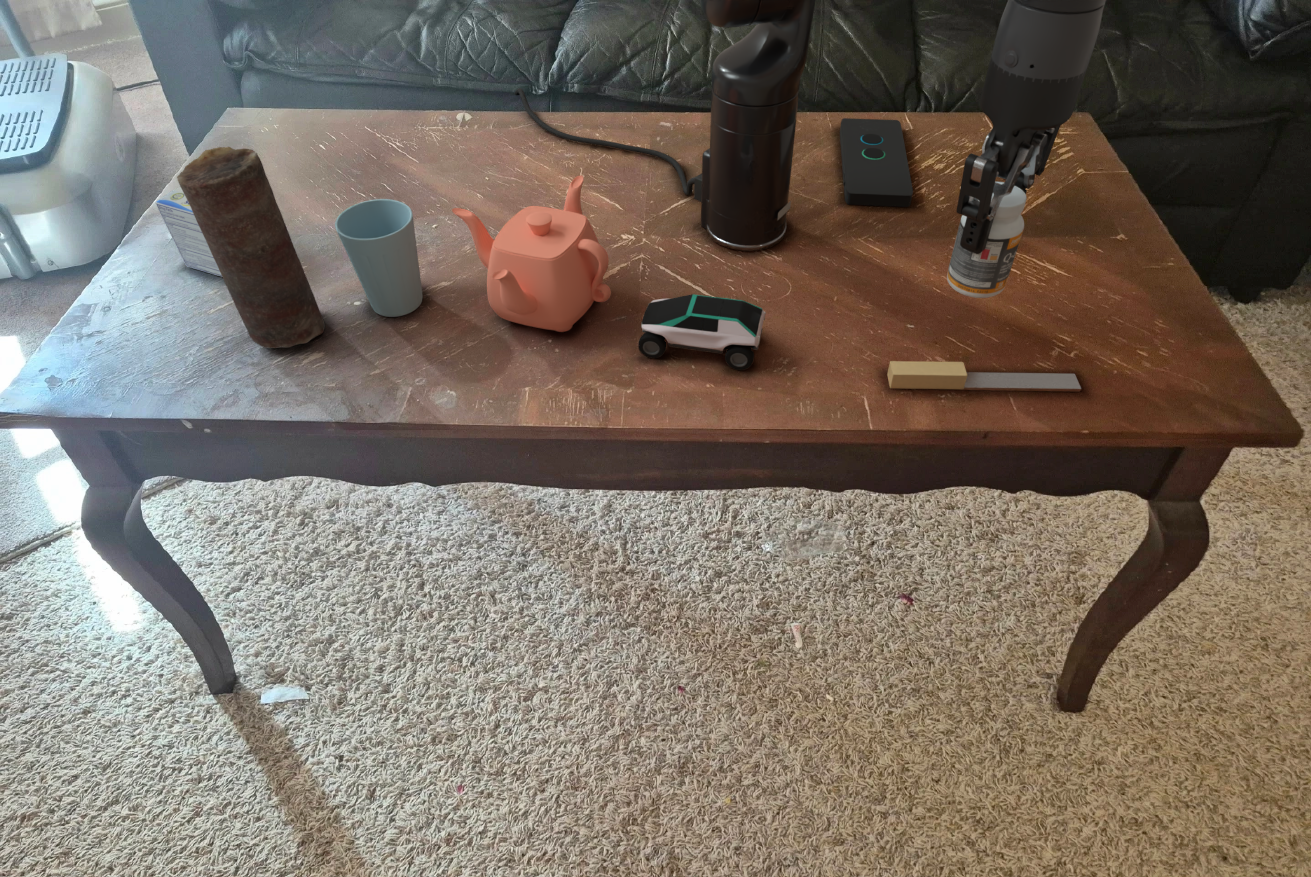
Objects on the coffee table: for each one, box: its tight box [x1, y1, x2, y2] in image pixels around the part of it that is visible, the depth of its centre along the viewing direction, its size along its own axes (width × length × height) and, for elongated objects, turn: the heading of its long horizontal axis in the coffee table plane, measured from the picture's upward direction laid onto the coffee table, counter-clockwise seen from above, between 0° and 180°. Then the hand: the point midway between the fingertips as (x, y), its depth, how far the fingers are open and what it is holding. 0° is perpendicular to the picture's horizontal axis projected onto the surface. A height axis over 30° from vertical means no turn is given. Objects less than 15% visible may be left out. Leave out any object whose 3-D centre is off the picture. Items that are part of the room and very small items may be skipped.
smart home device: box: [839, 117, 914, 208], centre depth 114 cm, size 8×2×20 cm
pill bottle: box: [946, 181, 1027, 299], centre depth 84 cm, size 6×6×10 cm
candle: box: [176, 146, 326, 349], centre depth 85 cm, size 8×7×20 cm
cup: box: [334, 198, 423, 318], centre depth 92 cm, size 8×8×10 cm
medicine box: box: [155, 185, 223, 278], centre depth 98 cm, size 8×4×9 cm, turn 65°
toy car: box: [637, 293, 766, 371], centre depth 88 cm, size 6×12×5 cm, turn 77°
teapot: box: [451, 175, 612, 333], centre depth 91 cm, size 14×14×11 cm
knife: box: [886, 360, 1082, 393], centre depth 84 cm, size 18×2×2 cm, turn 88°
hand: (988, 234), depth 83 cm, fingers closed on pill bottle, 5 cm apart
